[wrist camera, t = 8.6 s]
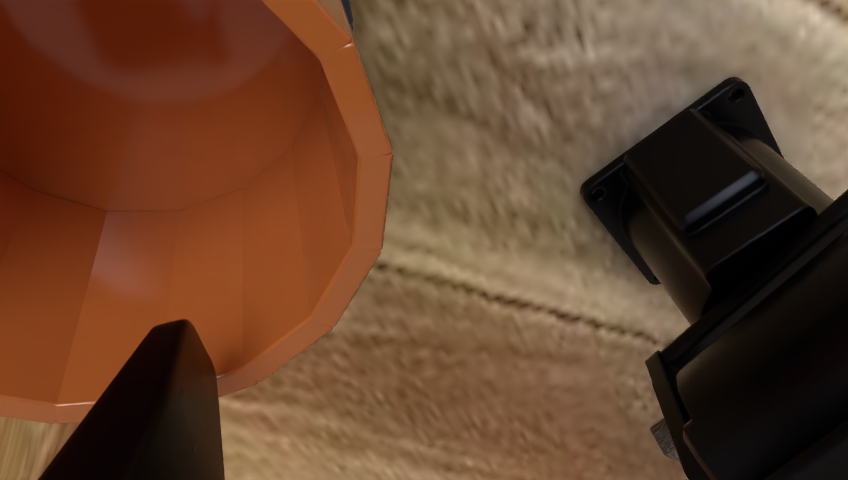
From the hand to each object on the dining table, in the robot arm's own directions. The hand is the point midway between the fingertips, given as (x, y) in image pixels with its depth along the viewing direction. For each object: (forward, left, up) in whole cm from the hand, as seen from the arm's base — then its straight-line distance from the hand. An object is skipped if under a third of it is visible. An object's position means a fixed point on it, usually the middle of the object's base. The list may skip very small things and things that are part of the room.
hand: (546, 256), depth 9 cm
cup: (+4, +4, -5) cm, 8 cm away
